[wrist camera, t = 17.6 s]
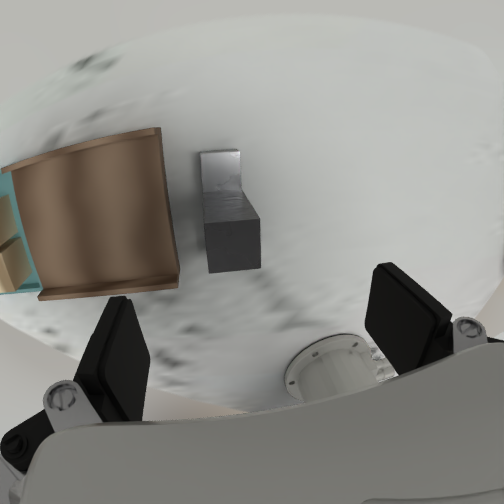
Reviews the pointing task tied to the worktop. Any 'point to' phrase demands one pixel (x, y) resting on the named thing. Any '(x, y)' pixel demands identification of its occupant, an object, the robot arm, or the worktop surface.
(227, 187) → the grey stepped block
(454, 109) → the worktop surface
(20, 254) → the oak block
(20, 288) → the teal tray
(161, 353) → the worktop surface
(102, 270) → the walnut channel
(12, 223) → the oak block
